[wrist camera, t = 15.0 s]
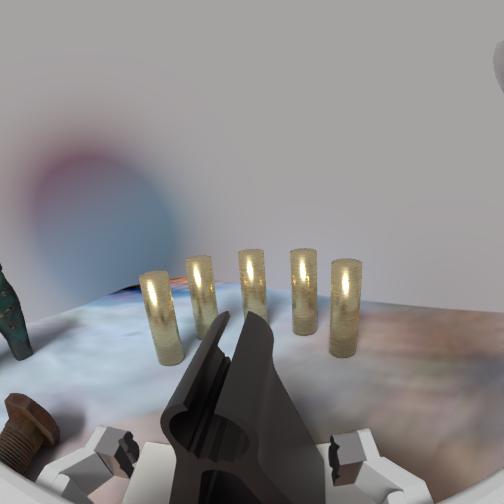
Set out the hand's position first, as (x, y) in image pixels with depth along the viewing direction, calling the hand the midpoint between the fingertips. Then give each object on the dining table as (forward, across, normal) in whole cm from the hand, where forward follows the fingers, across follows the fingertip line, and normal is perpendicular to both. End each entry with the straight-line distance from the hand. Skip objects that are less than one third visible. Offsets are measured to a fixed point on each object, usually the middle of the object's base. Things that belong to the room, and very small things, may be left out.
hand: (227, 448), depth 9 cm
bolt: (-3, +18, +9) cm, 20 cm away
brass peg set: (+22, 0, +8) cm, 24 cm away
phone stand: (+1, 0, +8) cm, 8 cm away
